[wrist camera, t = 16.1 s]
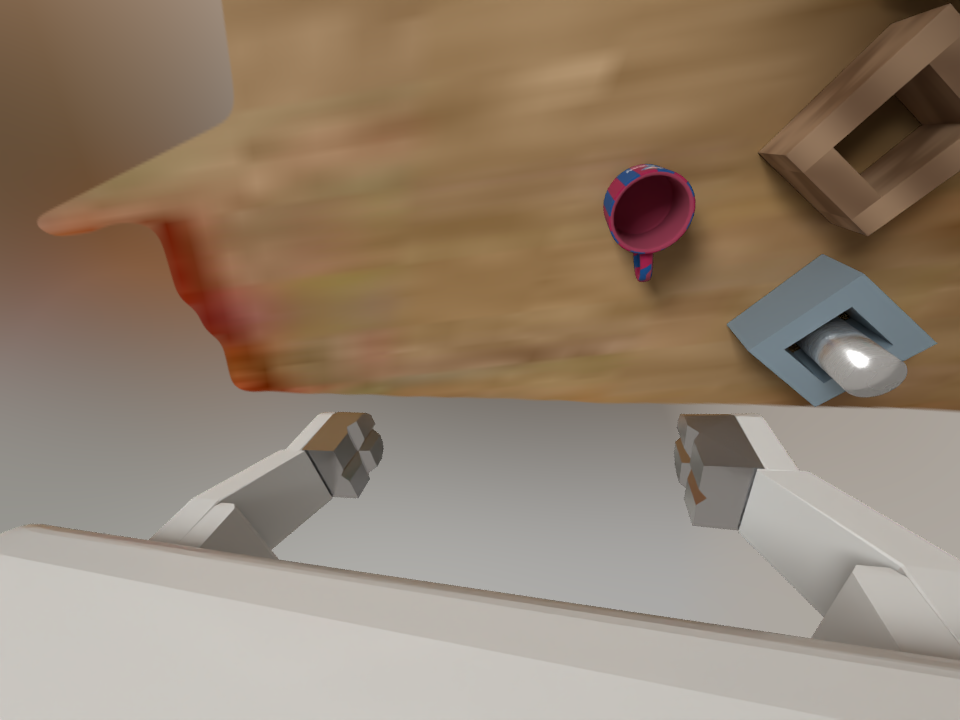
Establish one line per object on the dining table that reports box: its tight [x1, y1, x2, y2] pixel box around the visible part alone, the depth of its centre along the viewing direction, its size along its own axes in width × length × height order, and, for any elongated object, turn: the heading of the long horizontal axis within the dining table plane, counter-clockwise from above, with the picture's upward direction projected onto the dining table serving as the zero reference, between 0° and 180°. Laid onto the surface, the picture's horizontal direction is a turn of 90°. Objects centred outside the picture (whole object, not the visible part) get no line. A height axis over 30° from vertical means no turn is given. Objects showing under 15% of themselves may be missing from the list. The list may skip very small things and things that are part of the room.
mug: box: [603, 164, 695, 282], centre depth 34 cm, size 7×10×7 cm
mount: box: [758, 3, 960, 236], centre depth 28 cm, size 10×10×5 cm
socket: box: [727, 254, 937, 407], centre depth 36 cm, size 10×10×6 cm
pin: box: [795, 316, 907, 397], centre depth 33 cm, size 4×4×11 cm
